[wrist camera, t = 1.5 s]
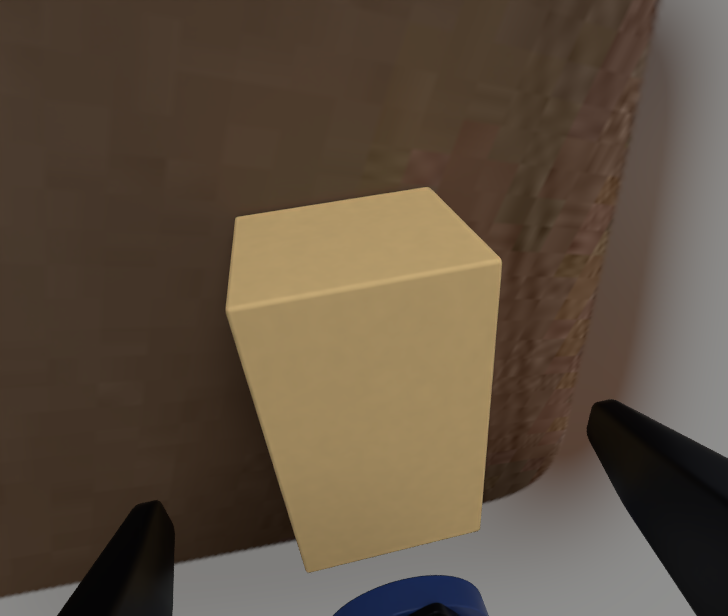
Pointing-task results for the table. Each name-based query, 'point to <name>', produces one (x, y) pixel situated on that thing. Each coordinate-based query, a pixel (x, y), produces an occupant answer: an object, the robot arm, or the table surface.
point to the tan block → (369, 367)
